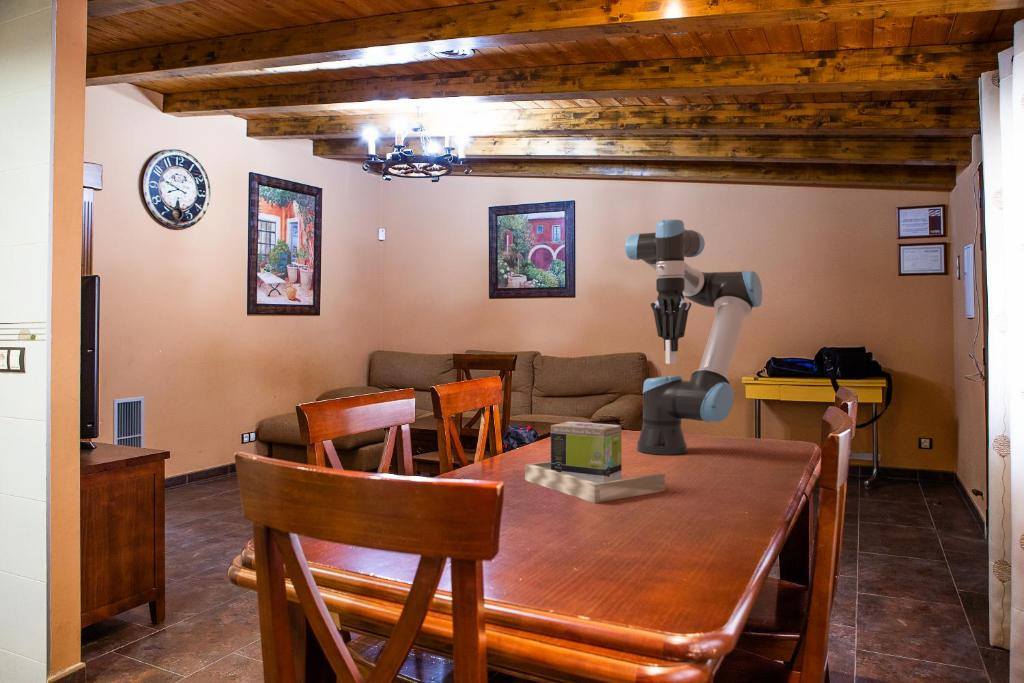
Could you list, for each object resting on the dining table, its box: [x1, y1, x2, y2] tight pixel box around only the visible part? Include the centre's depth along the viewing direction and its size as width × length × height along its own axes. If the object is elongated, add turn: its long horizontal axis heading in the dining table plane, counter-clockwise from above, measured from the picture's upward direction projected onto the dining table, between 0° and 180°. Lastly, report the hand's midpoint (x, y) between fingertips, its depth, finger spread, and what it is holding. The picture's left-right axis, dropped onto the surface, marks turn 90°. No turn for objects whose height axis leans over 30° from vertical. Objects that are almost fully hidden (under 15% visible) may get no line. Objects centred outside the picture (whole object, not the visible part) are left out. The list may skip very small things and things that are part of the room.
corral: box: [524, 460, 666, 504], centre depth 174 cm, size 27×22×4 cm
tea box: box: [550, 421, 623, 483], centre depth 176 cm, size 15×10×15 cm
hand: (671, 363), depth 197 cm, fingers closed
